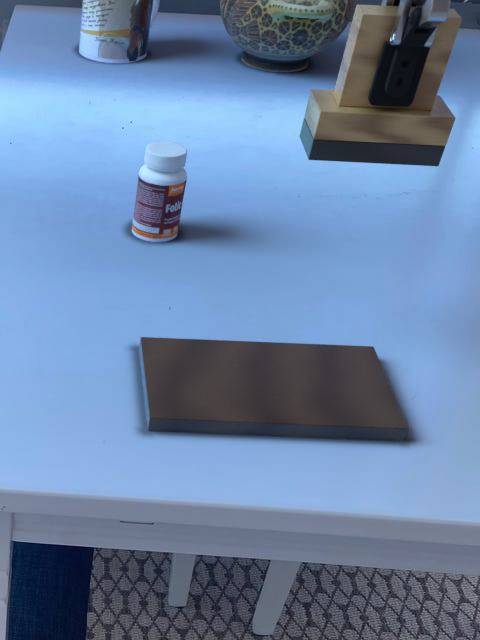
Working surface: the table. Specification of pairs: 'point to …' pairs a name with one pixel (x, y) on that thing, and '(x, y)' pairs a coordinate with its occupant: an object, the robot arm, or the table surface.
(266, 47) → the decorative ceramic pot
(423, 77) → the wooden handled stamp
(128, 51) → the mug
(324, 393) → the board
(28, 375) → the table surface
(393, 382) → the table surface
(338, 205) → the table surface
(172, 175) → the pill bottle
